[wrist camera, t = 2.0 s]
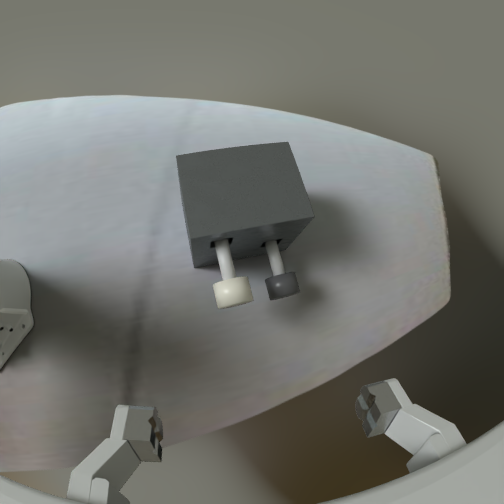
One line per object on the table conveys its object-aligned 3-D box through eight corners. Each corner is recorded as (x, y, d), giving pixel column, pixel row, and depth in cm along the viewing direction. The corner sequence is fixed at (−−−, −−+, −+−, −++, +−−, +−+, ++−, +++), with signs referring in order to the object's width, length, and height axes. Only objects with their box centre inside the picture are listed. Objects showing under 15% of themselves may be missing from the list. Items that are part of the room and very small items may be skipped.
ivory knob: (250, 302, 40) (256, 298, 36) (217, 310, 39) (218, 306, 35) (233, 233, 43) (237, 221, 38) (201, 239, 42) (201, 227, 37)
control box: (285, 249, 52) (314, 216, 38) (194, 268, 49) (190, 238, 35) (267, 189, 55) (288, 141, 41) (182, 203, 52) (176, 155, 38)
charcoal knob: (294, 294, 47) (304, 289, 42) (267, 301, 46) (273, 297, 41) (278, 235, 49) (285, 225, 45) (251, 240, 48) (256, 230, 44)
